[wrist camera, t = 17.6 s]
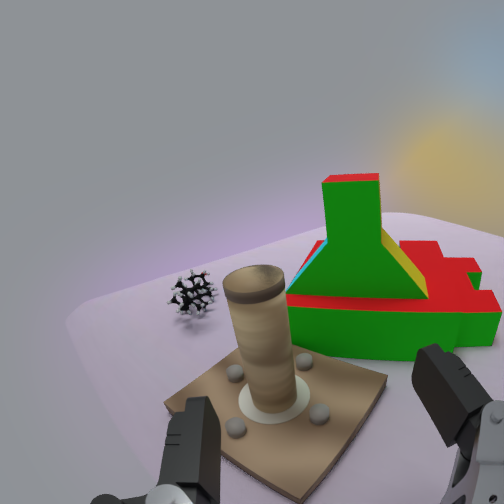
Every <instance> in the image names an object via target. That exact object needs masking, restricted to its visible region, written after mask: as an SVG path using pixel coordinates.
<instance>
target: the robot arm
mask: <svg viewBox="0 0 504 504" xmlns="http://www.w3.org/2000/svg"><path fill="white" fill-rule="evenodd" d="M412 384H413V387H414V390H415V391H416V393H417V395H418V396H419V398H420V400H421V401H422V403H423V405H424V407H425V408H426V410H427V412H428V413H429V415H430V417H431V419H432V421H433V422H434V424H435V426H436V428H437V429H438V431H439V433H440V435H441V437H442V439H443V440H444V442H445V444H446V446H447V448H448V447H450V446H452V445H454V444H456V443H457V445H458V446H459V448H458V450H457V454H456V458H455V462H454V467H453V471H452V474H451V478H450V482H449V485H448V488H447V491H446V493H445V495H444V497H443V498H442V500H441V502H440V504H504V402H503V401H499V400H495V401H494V400H492V398H491V397H490V396H489V395H488V393H487V392H486V391H485V389H484V388H483V387H482V385H481V384H480V383H479V382H478V380H477V379H476V378H475V376H474V375H473V374H471V371H470V370H469V369H468V368H466V365H465V364H464V363H463V362H462V360H461V359H460V358H459V357H458V356H456V355H454V354H453V353H451V352H449V351H448V352H444V351H443V350H442V348H441V347H440V346H439V345H438V344H437V343H434V344H431V345H428V346H426V347H423V348H420V349H419V350H418V351H417V355H416V359H415V364H414V368H413V372H412ZM220 465H221V425H220V421H219V418H218V416H217V414H216V412H215V409H214V407H213V405H212V403H211V401H210V399H209V397H208V396H200V397H188V398H187V400H186V404H185V411H183V412H175V414H174V415H173V417H172V418H171V420H170V421H169V424H168V429H167V437H166V440H165V446H164V452H163V458H162V464H161V470H160V476H159V481H158V483H157V485H156V487H155V488H153V489H152V490H151V491H150V492H149V493H148V494H146V495H144V496H140V497H135V498H129V499H122V500H119V499H118V498H116V497H115V496H113V495H109V494H102V495H99V496H97V497H96V498H94V499H93V500H92V502H91V503H90V504H220Z"/></svg>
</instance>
